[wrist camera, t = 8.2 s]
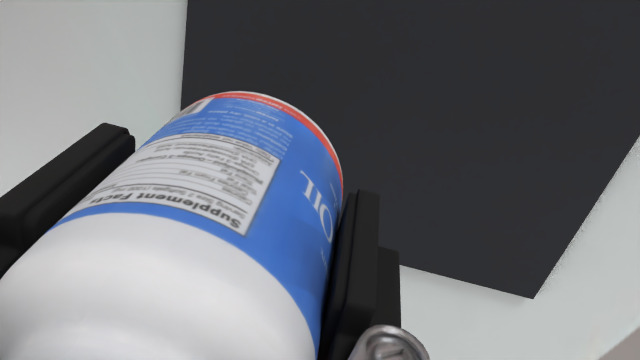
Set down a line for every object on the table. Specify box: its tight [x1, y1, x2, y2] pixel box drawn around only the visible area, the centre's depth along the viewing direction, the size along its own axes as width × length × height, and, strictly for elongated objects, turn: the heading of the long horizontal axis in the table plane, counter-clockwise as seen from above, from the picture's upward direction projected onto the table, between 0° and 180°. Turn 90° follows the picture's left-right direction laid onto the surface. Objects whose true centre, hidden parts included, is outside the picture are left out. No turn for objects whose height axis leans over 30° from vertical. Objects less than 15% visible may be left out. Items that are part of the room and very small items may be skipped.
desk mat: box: [180, 0, 640, 299], centre depth 23 cm, size 22×18×1 cm
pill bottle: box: [0, 91, 343, 360], centre depth 9 cm, size 6×5×10 cm
